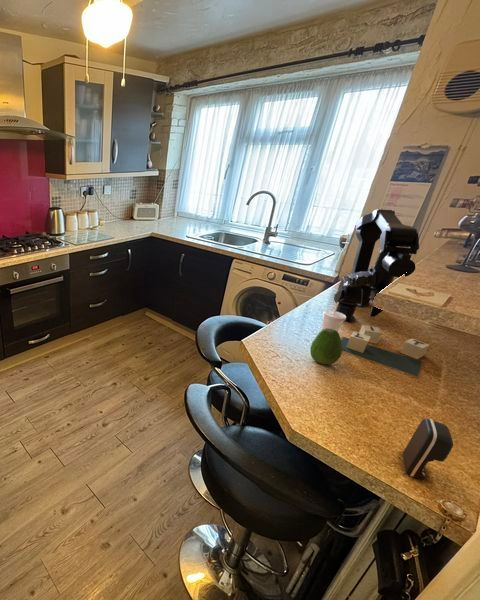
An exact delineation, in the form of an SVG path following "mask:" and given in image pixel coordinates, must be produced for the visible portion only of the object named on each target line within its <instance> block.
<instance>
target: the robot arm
mask: <svg viewBox="0 0 480 600" xmlns="http://www.w3.org/2000/svg"><path fill="white" fill-rule="evenodd" d="M355 230H356V231H355V236H356V238H357V240H358V244H357V248H356V253H355V257H354V261H353V264H352V267H351V271H350V272H349V273H346V276H347V282H346V283H345V284H343V285H342V288H341V289H340V290H339V291H338V292H337V291H336V293H335V294H334V298H333V301H334V303H335V305H336V304H337V302H339V305H338V307H337V310H336V311H337V312H340V313H342V314H344V315H345V316H346V320H345V321H344V322H347V323H352V322H353V320H354V319H355V316H354V315H355V312H356V309H357V308H362V309H363V308H364V307H366V306H365V305H366V304H367V303H368V302H369V303H370V302H371V301H372V303H371V309H370V313H369V317H371V318H375V317H376V316H378V315H379V314H381V313H382V312H383V311H384V310H381V309H378V308H376V307H374V306H373V300H374V297H375V296H376V294H377V293H379V292H380V291H381V290H382V289H384V288H385V287H386V286H388V285H389V284H390V283H392V284H393V282H394V279H395V278H399V277H400V276H402V275H403V274H405V277H404V278H406V277H409V276H410V275H412V274H413V273H414V272H415V271H416V264H415V262H414V261H413V260H412V259H411V258H412V255H417V253H418V250H419V249H420V236H419V232H418V230H417V228H415V227H413V226H411V225H406V224H403V223H402V222H401V221H400V219H399V218H398V217H397V215H396V212H395V210H392V209H383V208H379V209H378V208H377V209H375V210H373V211H372V212H369V213H368V214H364V215H362V216H361V217H360V218H359V219H358V220H357V221H356V224H355ZM377 241H379V245H380V250H379V252H378V255H377V257H376V259H375V262H374V265H373V266H370V265H371V260H372V257H373V254H374V249H375V246H376V243H377ZM406 272H407V273H406ZM399 279H400V278H399Z"/></svg>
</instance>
